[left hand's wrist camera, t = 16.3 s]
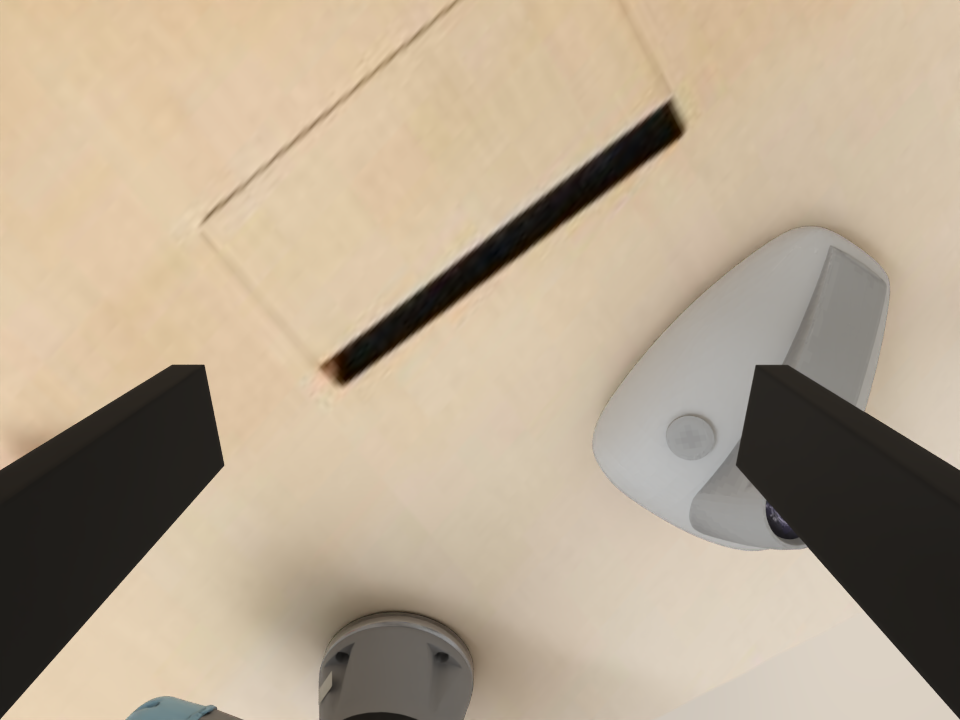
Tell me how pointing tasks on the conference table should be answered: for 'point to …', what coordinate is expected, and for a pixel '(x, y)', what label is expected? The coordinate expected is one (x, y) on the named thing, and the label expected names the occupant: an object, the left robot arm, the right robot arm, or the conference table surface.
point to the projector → (741, 382)
